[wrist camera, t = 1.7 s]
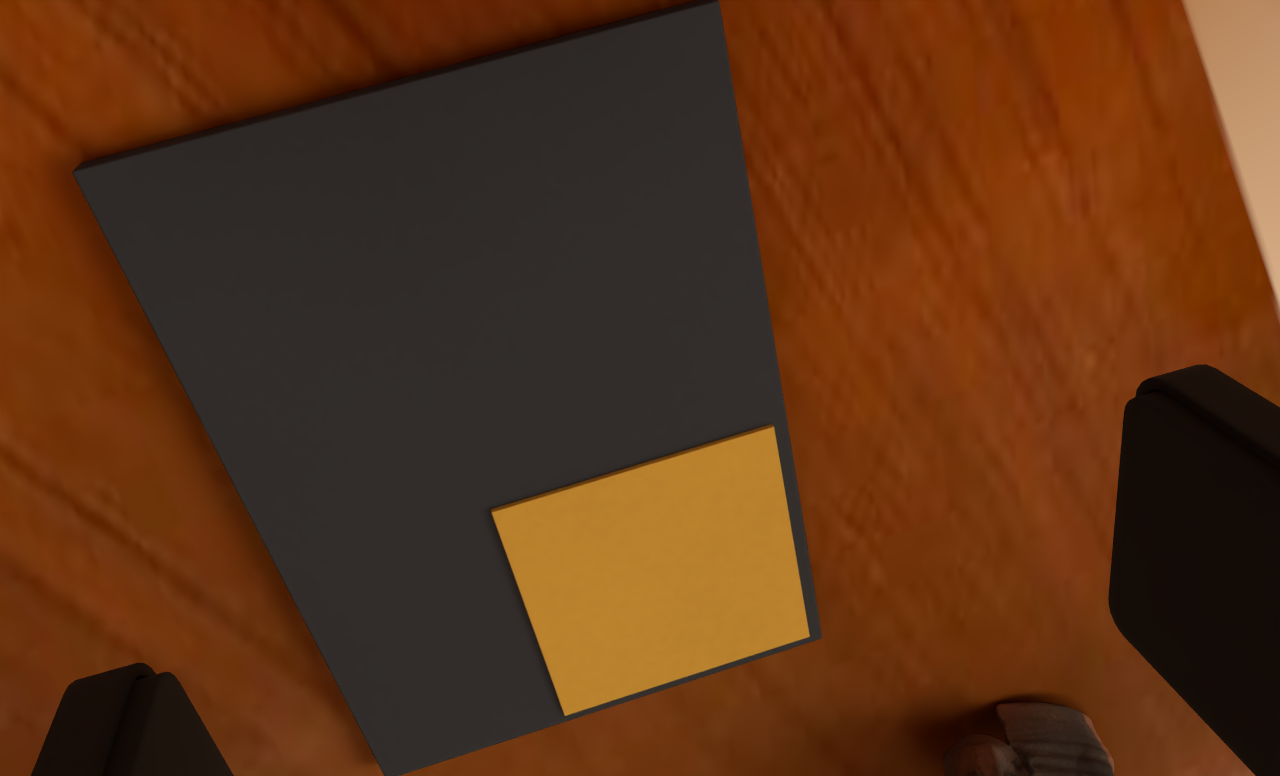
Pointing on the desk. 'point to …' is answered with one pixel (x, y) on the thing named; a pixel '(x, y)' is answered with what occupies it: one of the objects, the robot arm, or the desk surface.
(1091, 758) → the pottery mug
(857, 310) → the desk surface
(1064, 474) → the desk surface
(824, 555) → the desk surface
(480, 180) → the desk mat
